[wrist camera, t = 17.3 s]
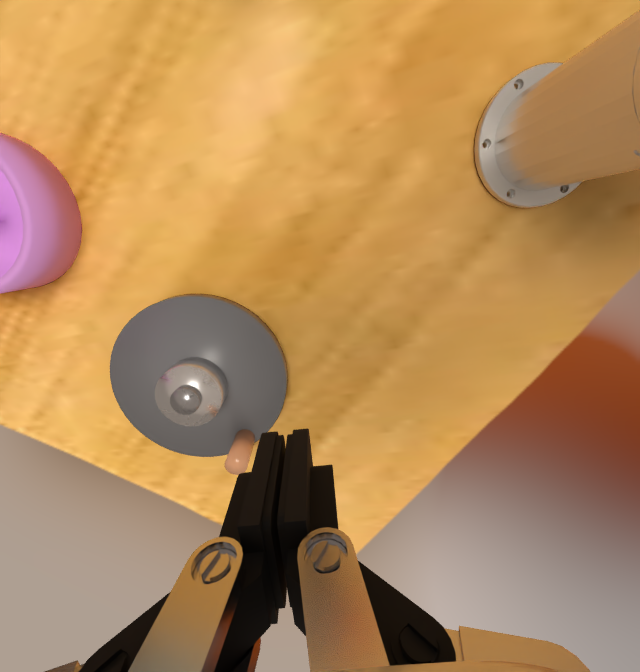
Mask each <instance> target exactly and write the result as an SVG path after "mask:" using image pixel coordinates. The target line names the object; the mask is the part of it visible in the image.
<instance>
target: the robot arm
mask: <svg viewBox="0 0 640 672" xmlns="http://www.w3.org/2000/svg"><path fill="white" fill-rule="evenodd" d="M514 86H515V88H514ZM482 144H484V148H483V146H482ZM474 153H475V163H476V167H477V171H478V174H479V177H480V179H481V180H482V182H483V184H484V186H485V187H486V188H487V190H488V191H489V192H490V193H491V194H492V195H493V196H494V197H495V198H497V199H498V200H499V201H501V202H503V203H505V204H507V205H510V206H514V207H519V208H532V207H539V206H544V205H547V204H550V203H553V202H555V201H557V200H559V199H561V198H563V197H565V196H566V195H568V194H569V193H571V192H572V191H573V190H575V189H576V188H577V187H578V186H579V185H580V184H581V183H582V182H583V181H586V180H591V179H596V178H600V177H605V176H610V175H615V174H619V173H624V172H629V171H633V170H638V169H640V10H639V11H637V12H636V13H635V14H633V15H632V16H630V17H629V18H627V19H626V20H625V21H623V22H622V23H620V24H619V25H617V26H616V27H615V28H613V29H612V30H610V31H609V32H607V33H606V34H605V35H603V36H602V37H600V38H599V39H597V40H596V41H595V42H593V43H592V44H590V45H589V46H587V47H586V48H584V49H583V50H582V51H580V52H579V53H577V54H576V55H574V56H573V57H572V58H570V59H569V60H567V61H566V62H564V63H544V64H540V65H536V66H533V67H531V68H529V69H526V70H524V71H522V72H521V73H519V74H518V75H517V76H515V77H514V78H512V79H511V80H510V81H508V82H507V83H506V84H505V85H504V86H503V87H501V89H500V90H499V91H498V92H497V93H496V94H495V95H494V97H493V98H492V99H491V101H490V102H489V104H488V105H487V107H486V109H485V110H484V113H483V115H482V117H481V120H480V122H479V125H478V129H477V133H476V137H475V148H474ZM507 193H508V196H507ZM287 590H288V596H289V602H290V607H292V610H293V616H294V622H295V625H296V626H297V627H298V628H299V629H300V630H301V631H302V632H303V634H304V635H305V636H306V638H307V647H308V655H309V664H310V672H590V670H589V669H588V668H587V667H586V666H585V665H584V664H583V663H582V662H581V661H580V660H579V658H578V657H577V656H575V655H574V654H573V653H571V652H570V651H568V650H567V649H565V648H564V647H562V646H560V645H557V644H554V643H551V642H548V641H543V640H537V639H532V638H526V637H520V636H514V635H509V634H503V633H497V632H492V631H486V630H479V629H474V628H469V627H463V626H459V631H456V630H450V629H444V627H443V626H442V625H441V624H439V622H437V621H436V620H435V619H434V618H433V617H432V616H430V615H429V614H428V613H426V612H425V611H424V610H422V609H421V608H420V607H419V606H417V605H416V604H415V603H413V602H412V601H411V600H409V599H408V598H407V597H405V596H404V595H403V594H401V593H400V592H399V591H397V590H396V589H394V588H393V587H392V586H391V585H389V584H388V583H387V582H385V581H384V580H383V579H381V578H380V577H379V576H378V575H376V574H375V573H373V572H372V571H371V570H370V569H368V568H367V567H366V566H364V565H363V564H362V563H360V562H359V561H358V560H357V557H356V553H355V550H354V547H353V544H352V542H351V540H350V538H349V537H348V536H347V535H346V534H345V533H344V532H342V531H340V530H338V521H337V510H336V499H335V488H334V477H333V467H332V465H324V466H313V462H312V454H311V445H310V436H309V429H299V430H293V434H290V435H288V436H287V443H286V448H285V440H284V436H283V435H278V432H267V433H262V434H261V437H260V441H259V445H258V449H257V453H256V457H255V460H254V464H253V468H252V472H248V473H240V474H239V476H238V478H237V481H236V484H235V488H234V491H233V494H232V497H231V500H230V504H229V507H228V510H227V513H226V516H225V520H224V523H223V526H222V529H221V532H220V536H219V537H218V538H215V539H212V540H209V541H207V542H205V543H204V544H203V545H201V546H200V547H198V548H197V549H196V550H195V551H194V552H193V554H192V555H191V556H190V558H189V559H188V561H187V563H186V564H185V567H184V568H183V570H182V572H181V574H180V576H179V577H178V579H177V581H176V583H175V585H174V587H173V589H172V590H171V592H170V593H169V594H167V595H166V596H165V597H163V598H162V599H161V600H160V601H158V602H157V603H156V604H155V605H153V606H152V607H151V608H150V609H149V610H147V611H146V612H145V613H143V614H142V615H141V616H140V617H138V618H137V619H136V620H135V621H133V622H132V623H131V624H130V625H128V626H127V627H126V628H125V629H123V630H122V631H121V632H120V633H118V634H117V635H116V636H115V637H114V638H112V639H111V640H110V641H109V642H107V643H106V644H105V645H104V646H102V647H101V648H100V649H99V650H98V651H97V652H96V653H94V654H93V655H92V656H91V657H90V658H89V659H88V660H87V661H86V663H85V664H82V665H80V664H79V662H78V661H74V662H71V663H68V664H65V665H62V666H59V667H57V668H53V669H51V670H48V671H45V672H255V668H256V664H257V660H258V656H259V652H260V644H261V638H260V637H261V636H262V635H263V634H264V633H265V632H266V630H267V629H268V628H269V627H270V625H271V624H276V623H277V621H278V610H279V608H285V605H286V593H287Z"/></svg>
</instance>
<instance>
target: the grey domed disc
mask: <svg viewBox="0 0 640 672" xmlns="http://www.w3.org/2000/svg"><path fill="white" fill-rule="evenodd" d="M189 357H200V358H204V359H207V360H210V361H212V362H213V363H215V364H216V365H217V366H218V367H219V368H220V369H221V370H222V371H223V373H224V374H225V376H226V378H227V382H228V393H227V396H226V398H225V400H224V402H223V404H222V406H221V408H220V409H219V411H218V413H217V414H216V416H215V417H214V418H213V419H212V420H210V421H209V422H207V423H205V424H203V425H199V426H183V425H180V424H177V423H175V422H173V421H171V420H169V419H168V418H167V417H166V416H164V414H163V413H162V412H161V411H160V409H159V408H158V406H157V403H156V400H155V387H156V384H157V382H158V380H159V379H160V378H161V376H162V375H163V374H165V373H166V372H167V371H168V370H169V369H170V368H171V367H172V366H173V365H174V364H176V363H177V362H178V361H180V360H182V359H185V358H189ZM110 379H111V384H112V389H113V392H114V395H115V398H116V400H117V402H118V404H119V406H120V408H121V410H122V411H123V413H124V414H125V416H126V417H127V418H128V420H129V421H130V422H131V423H132V424H133V426H134V427H136V428H137V429H138V430H139V431H140V432H141V433H142V434H143V435H145V436H146V437H147V438H149V439H150V440H152V441H153V442H155V443H157V444H158V445H160V446H162V447H165V448H167V449H169V450H172V451H175V452H178V453H181V454H186V455H190V456H199V457H214V456H222V455H227V454H228V456H227V459H226V461H225V468H226V470H227V471H228V472H230V473H231V474H235V475H238V474H240V473H244V472H245V471H246V469H247V466H248V463H249V459H250V456H251V452H252V449H253V445H254V443H255V442H256V441H258V440H259V439H260V437H261V434H262V433H267V432H268V431H269V429H270V428H271V427H272V426H273V424H274V423H275V421H276V420H277V418H278V416H279V414H280V412H281V409H282V407H283V403H284V399H285V394H286V388H287V367H286V361H285V358H284V354H283V351H282V349H281V347H280V345H279V342H278V341H277V339H276V337H275V336H274V334H273V333H272V331H271V330H270V329H269V328H268V326H267V325H266V324H265V323H264V322H263V321H262V320H261V319H260V318H259V317H258V316H256V315H255V314H254V313H252V312H251V311H250V310H248V309H247V308H245V307H243V306H241V305H239V304H238V303H235V302H233V301H230V300H228V299H225V298H222V297H218V296H214V295H206V294H186V295H179V296H175V297H171V298H168V299H165V300H163V301H160V302H158V303H156V304H153V305H151V306H149V307H147V308H146V309H144V310H142V311H141V312H139V313H138V314H137V315H136V316H134V317H133V318H132V319H131V320H130V321H129V322H128V323H127V324H126V325H125V327H124V328H123V329H122V331H121V333H120V334H119V336H118V338H117V340H116V342H115V344H114V347H113V351H112V354H111V361H110Z"/></svg>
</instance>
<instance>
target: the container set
mask: <svg viewBox="0 0 640 672" xmlns="http://www.w3.org/2000/svg"><path fill="white" fill-rule="evenodd" d="M81 235H82V224H81V217H80V211H79V208H78V205H77V202H76V199H75V196H74V194H73V192H72V190H71V188H70V187H69V185H68V183H67V181H66V180H65V179H64V177H63V176H62V174H61V173H60V172H59V170H58V169H57V168H56V167H55V166H54V165H53V164H52V163H51V162H50V161H49V160H48V159H47V158H46V157H45V156H44V155H43V154H41V153H40V152H39V151H37V150H36V149H34V148H33V147H32V146H30V145H28V144H26V143H24V142H22V141H20V140H18V139H16V138H14V137H11V136H8V135H5V134H2V133H0V293H5V292H11V291H17V290H23V289H28V288H34V287H40V286H43V285H45V284H48V283H51V282H53V281H55V280H56V279H58V278H59V277H61V276H62V275H63V274H64V273H65V272H66V271H67V270H68V269H69V268H70V267H71V265H72V264H73V262H74V260H75V258H76V257H77V254H78V251H79V248H80V244H81Z"/></svg>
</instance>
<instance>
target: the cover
mask: <svg viewBox="0 0 640 672" xmlns="http://www.w3.org/2000/svg"><path fill="white" fill-rule="evenodd" d="M227 393H228V382H227V378H226V376H225V374H224V373H223V371H222V370H221V369H220V368H219V367H218V366H217V365H216V364H215V363H213V362H212V361H210V360H207V359H204V358H200V357H189V358H185V359H182V360H180V361H178V362H177V363H176V364H174V365H173V366H172V367H171V368H170V369H169V370H168V371H167V372H166V373H165V374H163V375H162V376H161V378H160V379H159V380H158V382H157V384H156V387H155V400H156V403H157V406H158V408H159V409H160V411H161V412H162V413H163V414H164V416H166V417H167V418H168V419H169V420H171V421H173V422H175V423H177V424H180V425H183V426H199V425H203V424H205V423H207V422H209V421H210V420H212V419H213V418H214V417H215V416H216V414H217V413H218V411H219V409H220V408H221V406H222V404H223V402H224V400H225V398H226V396H227Z"/></svg>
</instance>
